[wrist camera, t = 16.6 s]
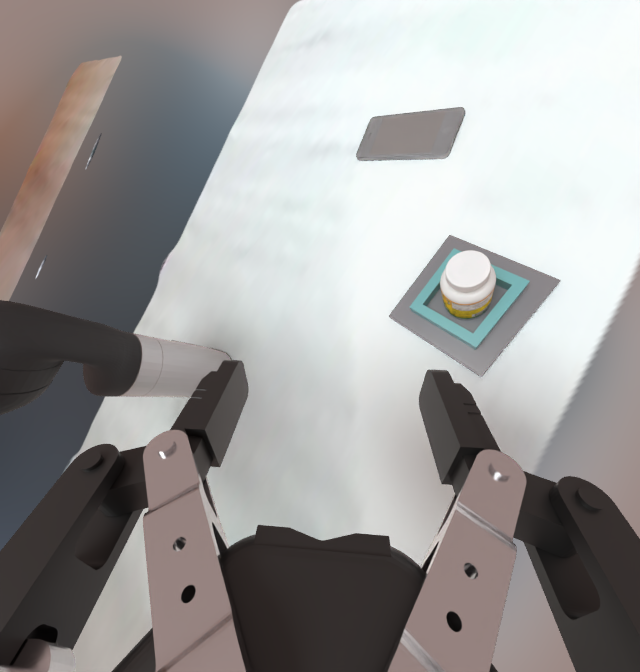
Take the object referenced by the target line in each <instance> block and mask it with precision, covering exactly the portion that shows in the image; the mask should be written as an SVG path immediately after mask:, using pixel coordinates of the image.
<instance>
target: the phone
mask: <svg viewBox="0 0 640 672" xmlns="http://www.w3.org/2000/svg"><path fill="white" fill-rule="evenodd" d="M464 116H465V110H464V108H463V107H457V108H448V109H439V110H430V111H422V112H413V113H404V114H395V115H386V116H377V117H373V118H371V120H370V122H369V124H368V126H367V129H366V131H365V134H364V136H363V139H362V141H361V144H360V146H359V149H358V151H357V154H356V157H357V159H358V160H359V161H363V160H367V161H374V160H378V161H381V160H422V159H445V158H446V157H448V156H449V154H450V151H451V149H452V146H453V142H454V139H455V137H456V134H457V131H458V129H459V126H460V125H461V123H462V119H463V117H464Z"/></svg>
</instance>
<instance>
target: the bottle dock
mask: <svg viewBox="0 0 640 672" xmlns="http://www.w3.org/2000/svg"><path fill="white" fill-rule="evenodd" d="M468 250H473V251H478V252H481V253H483V254H484V255H486V256H487V258H488V259H489V261H490V264H491V266H492V267H493V269H494V271H495V274H496V283H495V287H494V291H493V295H492V299H491V303H490V305H489V307H488V309H487V310H486V311H485V312H484V313H483V314H482V315H481V316H479V317H477V318H474V319H470V320H462V319H458V318H455V317H453V316H452V315H450V314H449V312H448V311H447V310H446V308H445V306H444V302H443V297H442V292H441V287H440V279H441V276H442V273H443V271H444V270H445V269H446V265H447V263H448V262H449V260H450V259H451V258H452V257H453V256H454V255H456V254H458V253H460V252H463V251H468ZM559 282H560V280H559V279H556V278H554V277H552V276H549V275H547V274H544V273H542V272H539V271H537V270H534V269H532V268H530V267H527V266H525V265H522V264H520V263H517V262H515V261H512V260H510V259H507V258H505V257H503V256H500V255H498V254H495V253H493V252H490V251H488V250H485V249H483V248H481V247H478V246H476V245H473V244H471V243H468V242H466V241H463V240H461V239H459V238H456V237H454V236H451V235H449V236H448V238H447V239H446V240H445V242H444V243H443V244H442V246H441V247H440V248H439V250H438V251H437V252H436V254H435V255H434V256H433V258H432V259H431V260H430V262H429V263H428V264H427V266H426V267H425V268H424V270H423V271H422V272H421V274H420V275H419V276H418V278H417V279H416V280H415V282H414V283H413V284H412V286H411V287H410V288H409V290H408V291H407V292H406V294H405V295H404V296H403V298H402V299H401V300H400V302H399V303H398V304H397V306H396V307H395V308H394V310H393V311H392V312H391V314H390V315H389V317H390V318H391V319H393V320H394V321H396V322H397V323H399V324H400V325H402V326H404V327H405V328H407V329H408V330H410V331H411V332H413V333H414V334H416V335H417V336H419V337H420V338H422V339H424V340H425V341H427V342H428V343H430V344H431V345H433V346H434V347H436V348H437V349H439V350H440V351H442V352H443V353H445V354H447V355H448V356H450V357H451V358H453V359H454V360H456V361H457V362H459V363H460V364H462V365H463V366H465V367H466V368H468V369H470V370H471V371H473V372H474V373H476V374H477V375H479V376H480V377H481V376H482V375H483V374H484V373H485V371H486V370H487V369H488V368H489V367H490V365H491V364H492V363H493V362H494V360H495V359H496V358H497V357H498V356H499V354H500V353H501V352H502V351H503V350H504V348H505V347H506V346H507V345H508V343H509V342H510V341H511V340H512V339H513V337H514V336H515V335H516V334H517V333H518V331H519V330H520V329H521V328H522V326H523V325H524V324H525V323H526V322H527V320H528V319H529V318H530V317H531V316H532V314H533V313H534V312H535V311H536V310H537V308H538V307H539V306H540V305H541V303H542V302H543V301H544V300H545V299H546V297H547V296H548V295H549V294H550V293H551V291H552V290H553V289H554V288H555V286H556V285H557V284H558V283H559Z"/></svg>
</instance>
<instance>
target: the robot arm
mask: <svg viewBox="0 0 640 672" xmlns="http://www.w3.org/2000/svg"><path fill="white" fill-rule="evenodd" d="M64 361H71V362H77V363H82V364H83V376H84V381H85V384H86V387H87V389H88V390H89V391H90V392H91V393H92V394H94V395H97V396H126V397H191V399H189V400H188V402H187V404H186V405H185V407H184V408H183V410H182V412H181V413H180V415H179V417H178V418H177V420H176V421H175V423H174V425H173V426H172V428H171V429H170V430H169V431H166V432H163V433H161V434H159V435H158V436H156V437H155V438H154V439H152V440H151V441H150V442H149V444H148V445H147V446H144V447H139V448H135V449H131V450H126V451H122V452H119V451H118V449H117V448H116V447H115V446H114V445H111V444H101V445H97V446H95V447H92V448H90V449H88V450H86V451H85V452H83V453H82V454H80V455H79V456H78V457H77V458H76V459H75V460H74V461H73V462H72V463H71V464H70V466H69V467H68V468H67V469H66V471H65V472H64V473H63V474H62V475H61V477H60V478H59V479H58V480H57V482H56V483H55V484H54V486H53V487H52V488H51V489H50V490H49V492H48V493H47V494H46V495H45V497H44V498H43V499H42V500H41V502H40V503H39V504H38V505H37V507H36V508H35V509H34V510H33V512H32V513H31V514H30V515H29V516H28V518H27V519H26V520H25V521H24V523H23V524H22V525H21V527H20V528H19V529H18V530H17V531H16V533H15V534H14V535H13V536H12V538H11V539H10V540H9V541H8V543H7V544H6V545H5V546H4V548H3V549H2V550H1V551H0V672H75V668H76V660H75V655H74V653H73V651H72V650H73V648H74V646H75V644H76V642H77V640H78V638H79V636H80V634H81V632H82V630H83V628H84V626H85V624H86V622H87V620H88V618H89V616H90V614H91V612H92V610H93V608H94V606H95V604H96V602H97V600H98V598H99V596H100V594H101V592H102V590H103V588H104V586H105V584H106V582H107V580H108V578H109V576H110V574H111V572H112V570H113V568H114V566H115V564H116V562H117V560H118V558H119V556H120V554H121V552H122V550H123V548H124V546H125V544H126V542H127V540H128V538H129V536H130V534H131V532H132V530H133V528H134V526H135V524H136V522H137V520H138V519H139V517H140V515H141V513H142V511H143V509H145V508H148V507H149V509H148V512H147V513H145V514H144V517H143V528H144V539H145V550H146V561H147V572H148V583H149V594H150V604H151V615H152V626H153V628H152V629H151V630H150V631H149V632H148V633H147V634H146V635H145V636H144V637H143V638H142V639H141V640H140V642H139V643H138V644H137V645H136V646H135V647H134V648H133V649H132V650H131V651H130V652H129V653H128V655H127V656H126V657H125V658H124V659H123V660H122V661H121V662H120V663H119V664H118V665H117V666H116V667H115V669H114V670H113V671H112V672H498V671H497V670H496V669H495V667H494V666H493V665H492V663H491V662H492V658H493V653H494V649H495V645H496V640H497V636H498V632H499V627H500V623H501V619H502V614H503V610H504V606H505V601H506V597H507V593H508V588H509V584H510V580H511V575H512V571H513V567H514V562H515V558H516V551H517V550H516V545H515V544H514V543H513V537H514V538H516V539H519V540H521V541H523V542H524V544H525V546H526V549H527V551H528V554H529V556H530V559H531V561H532V564H533V566H534V569H535V571H536V573H537V576H538V578H539V581H540V583H541V586H542V588H543V591H544V593H545V596H546V598H547V601H548V603H549V606H550V608H551V611H552V613H553V615H554V618H555V621H556V623H557V625H558V628H559V631H560V633H561V636H562V638H563V641H564V643H565V645H566V648H567V650H568V653H569V655H570V658H571V660H572V663H573V665H574V667H575V670H576V672H640V539H639V537H638V536H637V535H636V533H635V532H634V530H633V529H632V527H631V526H630V525H629V523H628V522H627V520H626V519H625V518H624V516H623V515H622V513H621V512H620V510H619V509H618V508H617V506H616V505H615V503H614V502H613V501H612V500H611V499H610V497H609V496H608V495H607V494H605V493H604V492H603V491H602V490H601V489H599V488H598V487H596V486H595V485H593V484H592V483H590V482H588V481H585V480H583V479H581V478H577V477H571V476H568V477H564V478H562V479H561V480H560V481H559V482H558V483H555V482H552V481H549V480H547V479H544V478H540V477H538V476H535V475H532V474H529V473H527V472H525V471H523V470H522V468H521V467H520V466H519V465H518V464H517V463H516V462H515V461H514V460H513V459H512V458H511V457H509V456H507V455H506V454H504V453H502V452H501V451H500V449H499V447H498V445H497V443H496V442H495V440H494V438H493V436H492V434H491V432H490V430H489V428H488V426H487V424H486V422H485V420H484V418H483V416H482V415H481V412H480V410H479V409H478V407H477V406H476V403H475V401H474V399H473V397H472V395H471V393H470V392H469V391H468V390H467V389H466V388H465V387H464V386H463V385H462V384H459V383H454V382H453V380H452V378H451V376H450V374H449V372H448V371H446V370H427V372H426V375H425V378H424V382H423V385H422V388H421V392H420V396H419V407H420V411H421V414H422V418H423V421H424V425H425V428H426V432H427V435H428V438H429V442H430V445H431V449H432V452H433V456H434V459H435V463H436V466H437V470H438V473H439V476H440V480H441V483H442V484H449V485H453V489H454V492H455V494H454V496H453V498H452V500H451V502H450V505H449V507H448V509H447V511H446V513H445V516H444V518H443V520H442V522H441V525H440V527H439V529H438V531H437V533H436V536H435V538H434V540H433V542H432V544H431V546H430V548H429V550H428V552H427V554H426V556H425V558H424V560H423V562H422V564H421V567H420V566H419V565H418V564H417V563H415V562H414V561H413V560H412V559H411V558H410V557H408V556H407V555H405V554H404V553H402V552H401V551H399V550H397V549H395V548H393V547H391V546H390V540H389V536H381V535H369V534H357V533H356V534H351V535H347V536H342V537H338V538H334V539H329V540H325V541H321V540H318V539H315V538H313V537H310V536H308V535H306V534H303V533H301V532H298V531H296V530H294V529H291V528H287V527H275V526H263V525H258V527H257V531H256V535H252V536H249V537H247V538H244V539H242V540H240V541H238V542H236V543H235V544H233V545H232V546H230V547H229V544H228V541H227V538H226V536H225V533H224V530H223V528H222V525H221V522H220V519H219V516H218V513H217V509H216V506H215V503H214V499H213V496H212V493H211V489H210V486H209V483H208V479H207V477H206V475H207V473H208V471H209V468H210V466H212V467H220V466H221V463H222V461H223V458H224V456H225V453H226V451H227V448H228V446H229V443H230V440H231V438H232V435H233V433H234V430H235V428H236V425H237V423H238V420H239V417H240V415H241V412H242V410H243V407H244V405H245V402H246V399H247V396H248V383H247V378H246V374H245V369H244V365H243V362H242V361H237V360H231V359H230V357H229V356H228V355H227V354H226V353H225V352H222V351H217V350H214V349H212V348H208V347H203V346H198V345H193V344H188V343H183V342H179V341H174V340H172V341H168V340H163V339H158V338H154V337H148V336H143V335H138V334H133V333H129V332H124V331H120V330H118V329H115V328H112V327H110V326H107V325H104V324H100V323H97V322H92V321H88V320H84V319H80V318H76V317H72V316H68V315H64V314H61V313H57V312H53V311H49V310H45V309H41V308H38V307H33V306H29V305H25V304H21V303H15V302H10V301H2V300H0V415H2V414H5V413H8V412H10V411H13V410H15V409H18V408H20V407H22V406H25V405H27V404H28V403H30V402H32V401H34V400H35V399H36V398H38V397H39V396H40V395H41V394H42V393H44V392H45V390H46V389H47V388H48V387H49V385H50V384H51V382H52V381H53V379H54V377H55V375H56V374H57V372H58V370H59V369H60V367H61V365H62V364H63V362H64Z"/></svg>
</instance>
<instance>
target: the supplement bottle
mask: <svg viewBox="0 0 640 672" xmlns="http://www.w3.org/2000/svg"><path fill="white" fill-rule="evenodd" d="M495 283H496V274H495V271H494V269H493V267H492V266H491V264H490V261H489V259H488V258H487V256H486V255H484V254H483V253H481V252H478V251H473V250H468V251H463V252H460V253H458V254H456V255H454V256H453V257H452V258H451V259H450V260H449V262H448V263H447V265H446V269H445V270H444V271H443V273H442V276H441V279H440V287H441V292H442V297H443V302H444V306H445V308H446V310H447V311H448V312H449V314H450V315H452V316H453V317H455V318H458V319H462V320H470V319H474V318H477V317H479V316H481V315H482V314H483V313H484V312H485V311H486V310H487V309H488V307H489V305H490V303H491V299H492V295H493V291H494V287H495Z"/></svg>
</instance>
